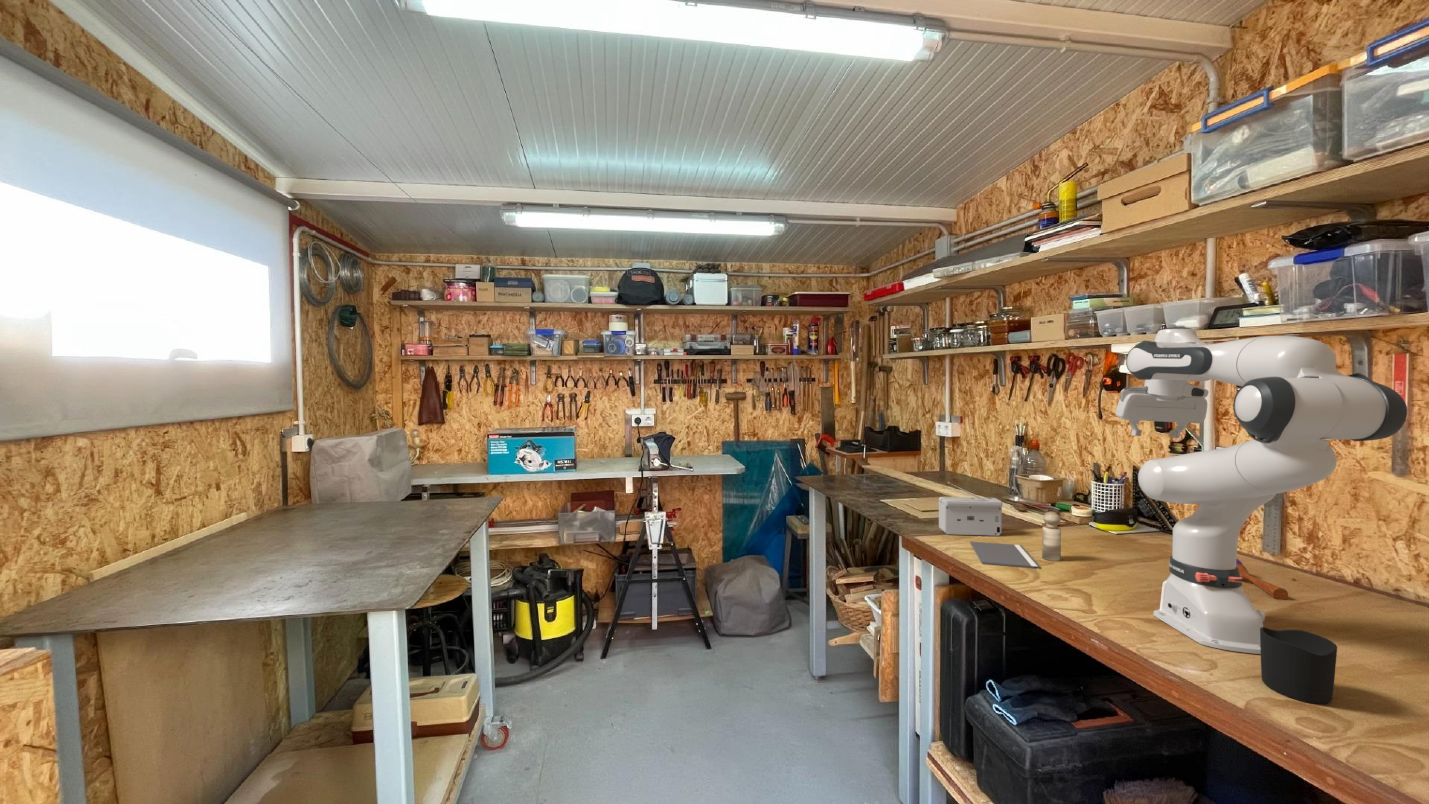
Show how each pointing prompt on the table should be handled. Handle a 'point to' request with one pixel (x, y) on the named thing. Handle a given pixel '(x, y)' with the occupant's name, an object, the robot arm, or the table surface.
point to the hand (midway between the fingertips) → (1154, 436)
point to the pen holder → (1298, 664)
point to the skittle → (1051, 537)
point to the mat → (1003, 555)
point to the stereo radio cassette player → (970, 515)
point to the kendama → (1262, 583)
